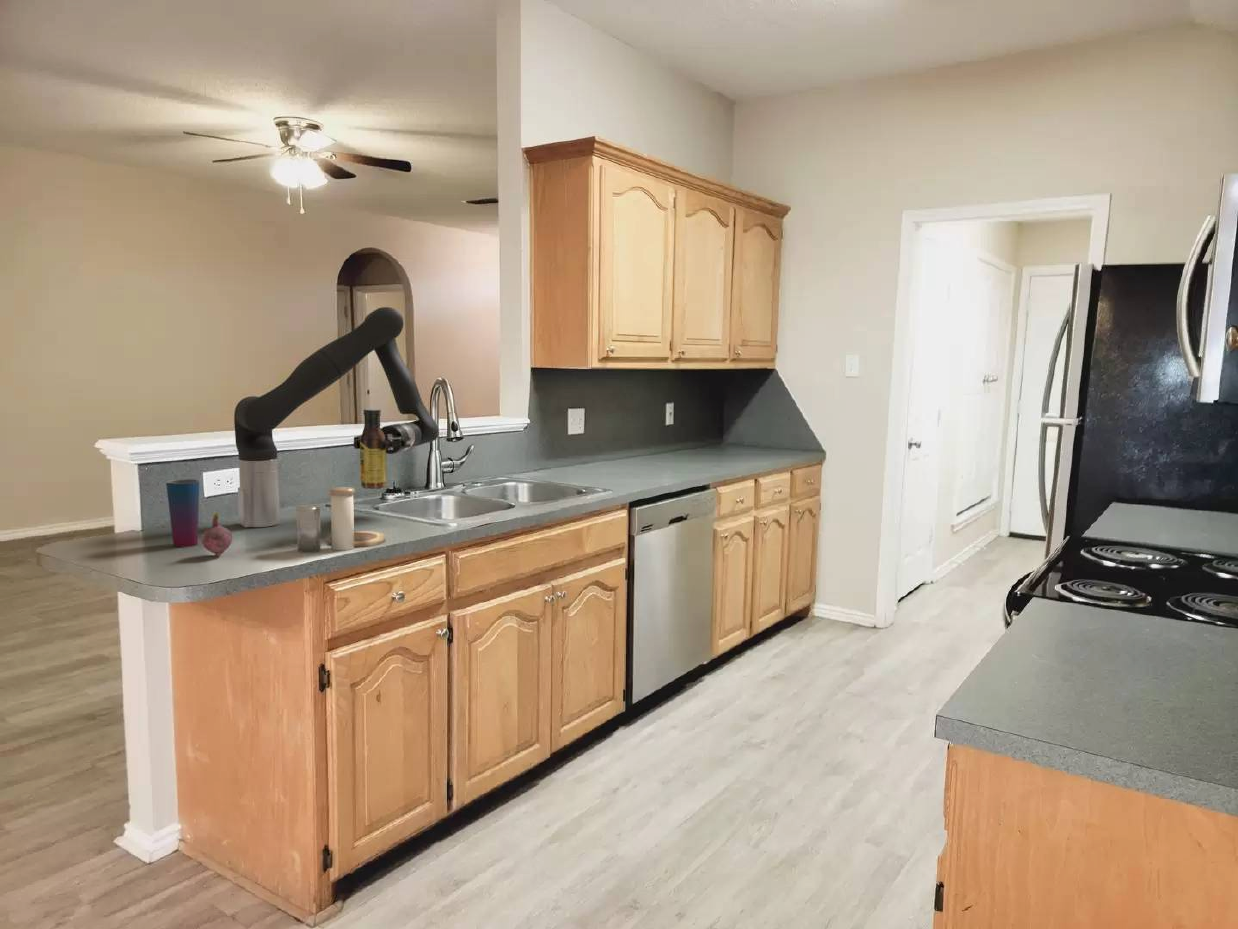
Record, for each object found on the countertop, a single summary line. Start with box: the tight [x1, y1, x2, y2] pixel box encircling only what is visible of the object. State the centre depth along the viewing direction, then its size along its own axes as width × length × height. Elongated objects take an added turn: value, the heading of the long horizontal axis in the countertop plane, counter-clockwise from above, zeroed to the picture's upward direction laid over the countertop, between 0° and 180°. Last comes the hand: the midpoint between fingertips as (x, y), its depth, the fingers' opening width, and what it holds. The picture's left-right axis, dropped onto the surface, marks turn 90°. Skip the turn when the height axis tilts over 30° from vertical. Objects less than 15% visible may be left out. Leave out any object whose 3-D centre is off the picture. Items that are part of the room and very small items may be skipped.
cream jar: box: [328, 486, 356, 552], centre depth 194 cm, size 6×6×14 cm
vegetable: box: [201, 511, 234, 556], centre depth 185 cm, size 6×6×10 cm
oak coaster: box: [328, 530, 387, 548], centre depth 203 cm, size 13×13×1 cm
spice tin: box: [296, 504, 322, 553], centre depth 192 cm, size 5×5×10 cm
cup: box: [165, 478, 200, 548], centre depth 194 cm, size 7×7×15 cm
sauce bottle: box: [359, 407, 387, 490], centre depth 209 cm, size 7×6×20 cm
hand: (368, 445), depth 206 cm, fingers closed on sauce bottle, 6 cm apart
